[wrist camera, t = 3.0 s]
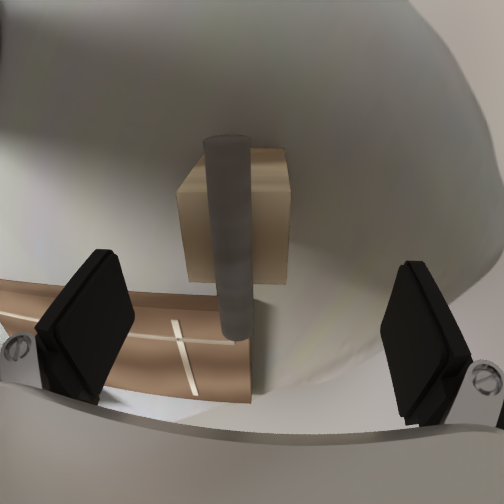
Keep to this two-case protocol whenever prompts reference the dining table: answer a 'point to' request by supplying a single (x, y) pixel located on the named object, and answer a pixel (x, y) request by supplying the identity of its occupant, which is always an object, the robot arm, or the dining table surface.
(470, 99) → the dining table surface
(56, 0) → the dining table surface
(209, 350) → the board
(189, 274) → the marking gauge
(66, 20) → the dining table surface
